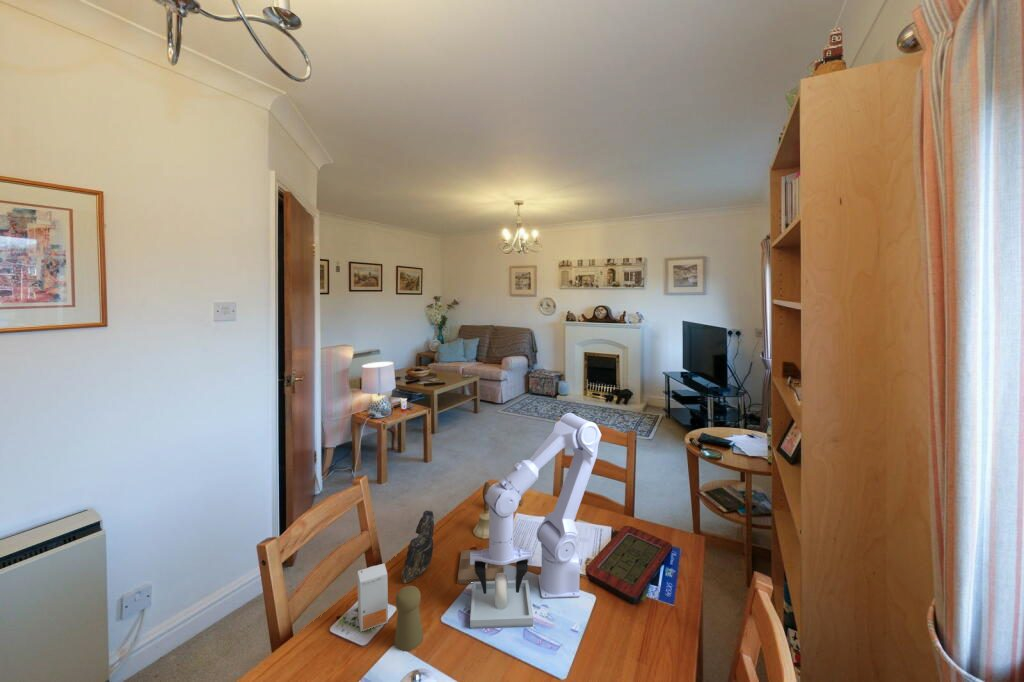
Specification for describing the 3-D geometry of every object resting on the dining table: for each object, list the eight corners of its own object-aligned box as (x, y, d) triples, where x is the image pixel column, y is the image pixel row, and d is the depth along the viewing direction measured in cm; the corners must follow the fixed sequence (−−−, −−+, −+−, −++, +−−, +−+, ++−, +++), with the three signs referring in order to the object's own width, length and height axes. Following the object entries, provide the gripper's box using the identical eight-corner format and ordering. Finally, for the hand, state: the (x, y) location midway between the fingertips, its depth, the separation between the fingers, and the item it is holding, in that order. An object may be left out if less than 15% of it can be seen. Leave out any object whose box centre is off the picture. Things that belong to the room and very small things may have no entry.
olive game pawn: (415, 653, 80) (414, 604, 79) (389, 648, 81) (387, 599, 80) (427, 629, 86) (427, 583, 85) (402, 625, 87) (401, 579, 86)
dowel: (506, 599, 94) (506, 572, 93) (508, 608, 91) (508, 581, 90) (494, 600, 94) (494, 573, 93) (495, 609, 91) (495, 581, 90)
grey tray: (528, 587, 99) (528, 580, 99) (532, 626, 87) (533, 618, 87) (472, 589, 98) (472, 581, 98) (470, 628, 86) (470, 620, 86)
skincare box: (360, 633, 85) (358, 582, 84) (358, 619, 88) (356, 570, 87) (389, 623, 87) (387, 573, 86) (385, 610, 91) (384, 562, 90)
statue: (394, 581, 101) (393, 526, 99) (425, 555, 111) (424, 505, 110) (411, 588, 98) (410, 532, 97) (440, 561, 109) (440, 510, 107)
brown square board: (502, 552, 112) (502, 549, 112) (504, 582, 100) (504, 578, 100) (461, 554, 112) (461, 550, 112) (457, 584, 100) (457, 579, 100)
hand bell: (484, 521, 129) (484, 475, 127) (504, 529, 124) (504, 481, 123) (467, 533, 122) (467, 484, 121) (488, 542, 117) (488, 492, 116)
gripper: (530, 525, 95) (529, 577, 96) (471, 526, 94) (471, 579, 96) (533, 543, 88) (532, 598, 89) (469, 544, 87) (469, 600, 89)
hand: (501, 590), depth 92 cm, fingers open, 7 cm apart
